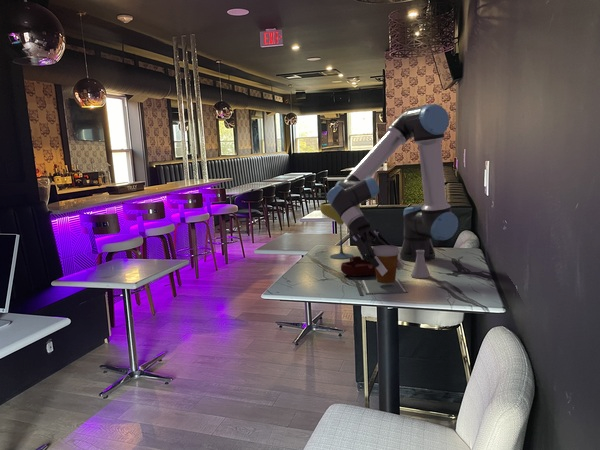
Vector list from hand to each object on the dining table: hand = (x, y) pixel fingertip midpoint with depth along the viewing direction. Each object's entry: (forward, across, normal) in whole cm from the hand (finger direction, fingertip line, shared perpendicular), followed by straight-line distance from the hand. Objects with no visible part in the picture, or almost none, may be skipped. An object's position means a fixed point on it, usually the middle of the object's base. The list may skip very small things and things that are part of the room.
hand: (393, 270), depth 159 cm
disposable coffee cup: (+1, 0, -5) cm, 5 cm away
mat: (+2, +1, -7) cm, 7 cm away
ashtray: (-10, -11, -20) cm, 25 cm away
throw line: (-2, +7, -12) cm, 14 cm away
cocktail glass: (-30, -28, -39) cm, 56 cm away
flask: (+4, -19, -5) cm, 20 cm away
